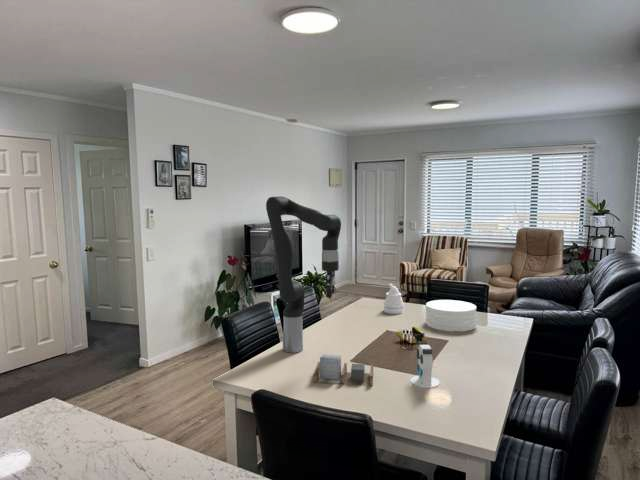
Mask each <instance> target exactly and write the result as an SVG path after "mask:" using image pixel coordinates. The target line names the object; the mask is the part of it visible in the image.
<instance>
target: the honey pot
mask: <svg viewBox="0 0 640 480" xmlns="http://www.w3.org/2000/svg"><path fill="white" fill-rule="evenodd" d="M388 286H389V287H390V288H389V290H388V292H386V293H385V295H386V297H385V300H384V301H383V312H384V313H386V314H392V315H393V314H394V315H395V314H396V315H397V314H403V313H404V312H405V303H404V301H403V298H402V293H401V292H400V290H399V289H398V287H396V286H395V285H394V284H393V283H388Z"/></svg>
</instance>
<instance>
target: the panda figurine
mask: <svg viewBox="0 0 640 480" xmlns="http://www.w3.org/2000/svg"><path fill="white" fill-rule="evenodd" d="M416 359H417V363H418V364H417V371H418V375H415V376H413V377H411V378H410V381H409V382H410V383H411V385H413V386H415V387H417V388H422V389H434V388H437V387H439V386H440V384H441V382H440V380H439V379H438V378H436V377H433V376H432V370H433V365H434V361H433V359H434V358H433V349H432V347H431V346H430V344H428V342H427V341H425V340H424V341H418V343H417V349H416Z"/></svg>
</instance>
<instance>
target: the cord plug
mask: <svg viewBox="0 0 640 480" xmlns="http://www.w3.org/2000/svg"><path fill="white" fill-rule="evenodd" d="M351 364H352V365H351V368H350V373H351V382H364V377H365V371H366V370H365V367H366V365H365V364H364V363H363V364H361V363H351Z"/></svg>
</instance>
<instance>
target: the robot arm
mask: <svg viewBox="0 0 640 480" xmlns="http://www.w3.org/2000/svg"><path fill="white" fill-rule="evenodd" d="M265 208H266V213H267V218H268V222H269V225H270V229H271V235H272V240H273V248H274V255H275V259H276V266H277V275H278V276H277V277H278V289H279V290H278V291H279V297H280V299H281V301H282V302H284V304H287V305H286V307H284V309H283V331H282V352H286V353H291V354H294V353H301V352H302V351H303V350H304V345H303V343H304V340H303V337H304V336H303V335H304V334H303V333H304V332H303V331H304V330H303V326H304V325H303V312H304V309H305V289H304V286H303V284H302V283H301V282H299V281H293V279H292V277H293V276H292V269H293V264H294V261H295V248H294V242H293V239H292V238H291V236H290V234H289V232H288V231H287V230H286V228H285V227H284V223H283V221H282V216H293V217H296V218H297V219H298V220H299V221H301V222H302V223H306V224H308V225H311V226H314V227H315V228H317V229H318V230H320V231H323V232H326V235H325V236H323V237H322V239H321V270H322V271H323V272H326V274H325V276H324V277H325V278H324V279H325V282H324V283H325V290H326V298H327V299H331V298H332V297H333V294H334V293H335V284H336V272H337V271H339V269H340V268H339V267H340V265H339V261H340V260H339V257H340V255H339V238H340V233H341V228H342V221H341V218H340V217H339V215H337V214H323V213H322V212H321V211H320V210H317V209H314V208H311V207H308V206H304V205H301V204H299V203H296V202H295V201H294V200H291V199H290V198H288V197H285V196H270V197H268V198H267V200H266V204H265Z"/></svg>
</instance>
